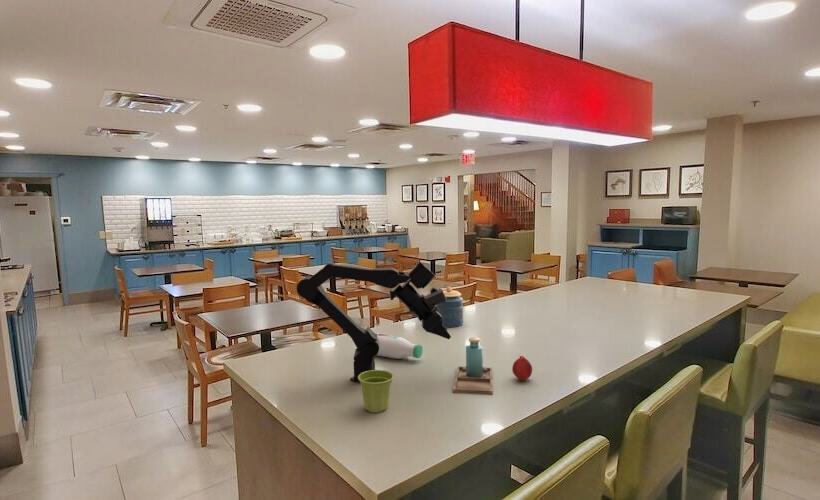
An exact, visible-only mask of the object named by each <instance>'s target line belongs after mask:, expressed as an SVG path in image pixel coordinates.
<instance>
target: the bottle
mask: <svg viewBox="0 0 820 500" xmlns="http://www.w3.org/2000/svg"><path fill="white" fill-rule="evenodd" d="M468 342H469V345H466V346H465V367H466V376H468V377H477V378H480V377H482V376H483V367H484V359H483V358H484V355H483V354H484V348H483V347H484V346H481V345H479V343H480V338H479V337H469V338H468Z"/></svg>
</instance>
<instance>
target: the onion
mask: <svg viewBox="0 0 820 500" xmlns="http://www.w3.org/2000/svg"><path fill="white" fill-rule="evenodd" d="M511 367H512V368H511V370H512V374H513V375H514V376H515V377H516V378H517V379H518V380H519V381H526V380H528V379H529V378H530V377H531V376H532V374H533V367H532V364H531V363H530V361H529V360H528V359H527V358H525V356H524V355H522V354H521V355H519V358H517V359H516V360H514V362H513V364H512V366H511Z"/></svg>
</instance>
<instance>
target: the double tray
mask: <svg viewBox="0 0 820 500" xmlns="http://www.w3.org/2000/svg"><path fill="white" fill-rule="evenodd" d="M493 388H494V386H493V367H484V366H483V376H482V377H480V378H477V377H468V376H466V366H462V365H461V366H460V365H459V366H457V368H456V373H455V377H454V383H453V388H452V392H453V393H462V394H476V395H478V394H479V395H493V394H494V393H493V390H494V389H493Z"/></svg>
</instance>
